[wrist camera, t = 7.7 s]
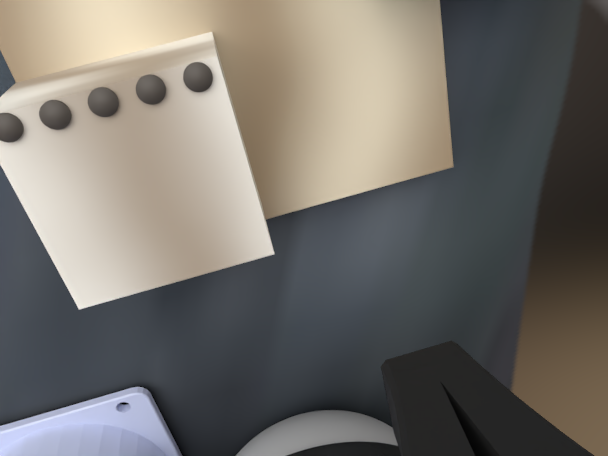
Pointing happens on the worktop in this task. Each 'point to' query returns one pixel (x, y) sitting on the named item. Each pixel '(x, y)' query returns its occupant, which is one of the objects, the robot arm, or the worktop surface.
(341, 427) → the dark egg-shaped dome
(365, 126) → the board
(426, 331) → the worktop surface
